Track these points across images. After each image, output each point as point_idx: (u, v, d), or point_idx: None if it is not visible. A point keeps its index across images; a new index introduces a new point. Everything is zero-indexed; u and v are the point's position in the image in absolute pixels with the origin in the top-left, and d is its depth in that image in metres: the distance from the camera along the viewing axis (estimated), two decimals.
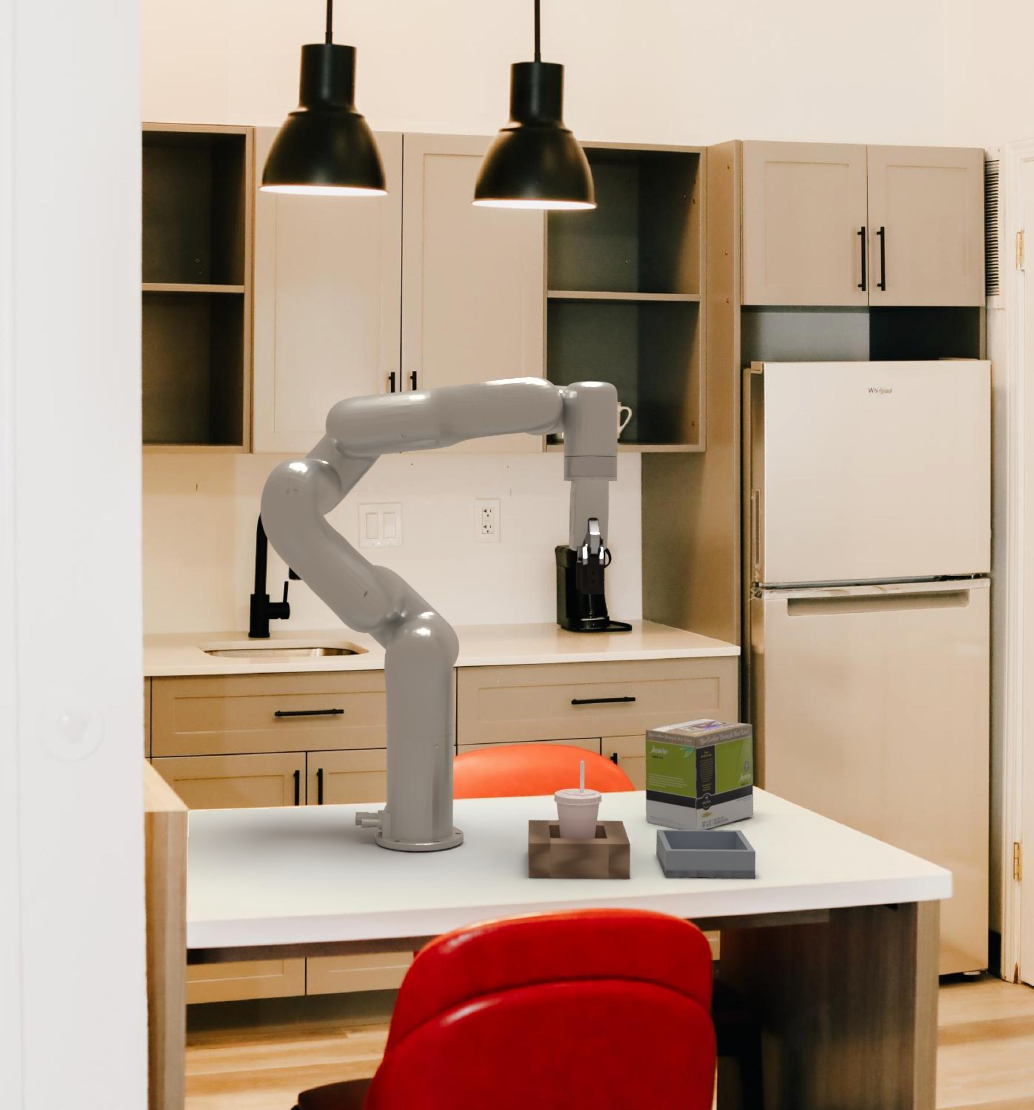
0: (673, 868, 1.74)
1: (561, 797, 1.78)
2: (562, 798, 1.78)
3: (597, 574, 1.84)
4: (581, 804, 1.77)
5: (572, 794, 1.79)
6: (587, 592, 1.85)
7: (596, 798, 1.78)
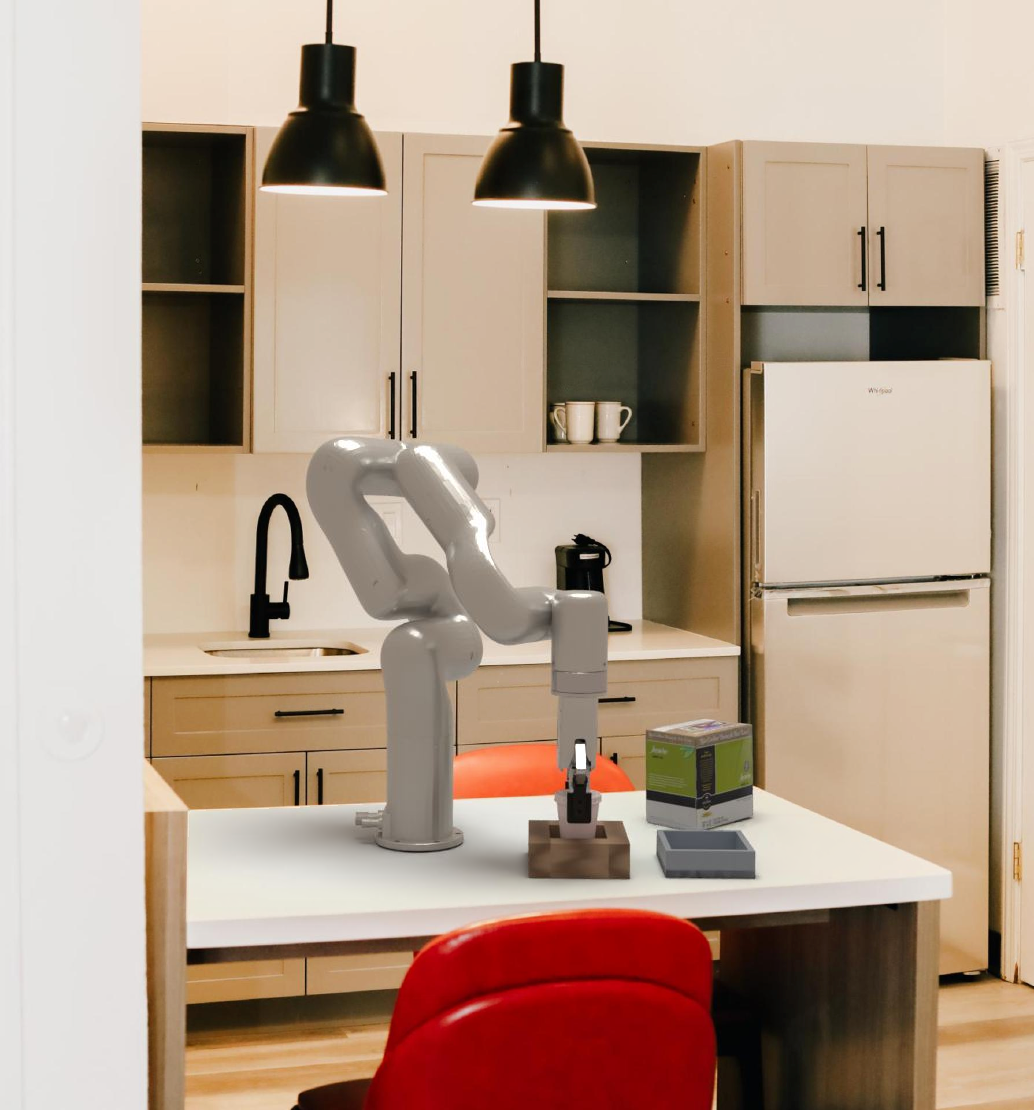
0: (673, 868, 1.74)
1: (561, 797, 1.78)
2: (562, 798, 1.78)
3: (583, 803, 1.75)
4: None
5: None
6: (573, 821, 1.76)
7: (596, 798, 1.78)
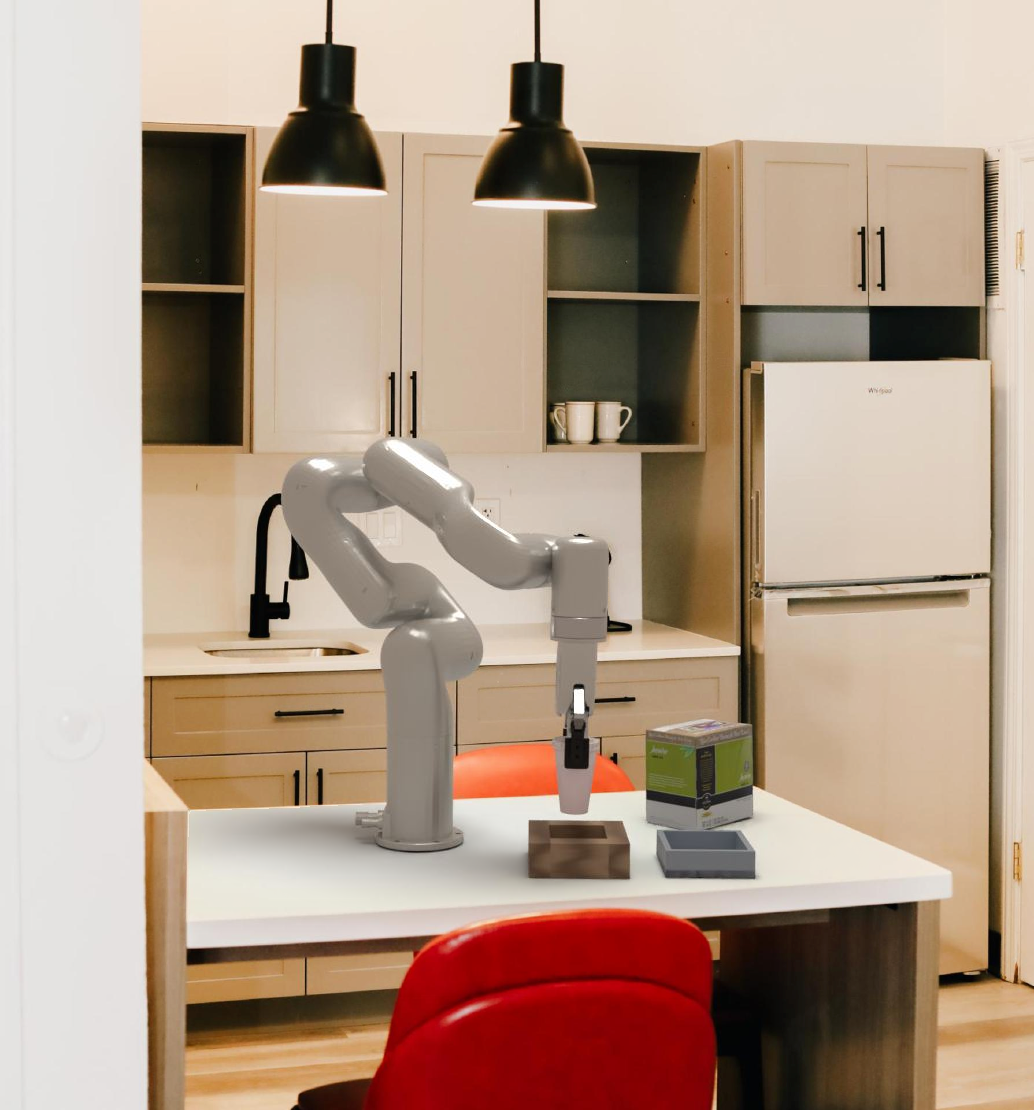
0: (673, 868, 1.74)
1: (559, 743, 1.78)
2: (560, 744, 1.78)
3: (581, 749, 1.75)
4: None
5: None
6: (570, 767, 1.76)
7: (594, 744, 1.78)
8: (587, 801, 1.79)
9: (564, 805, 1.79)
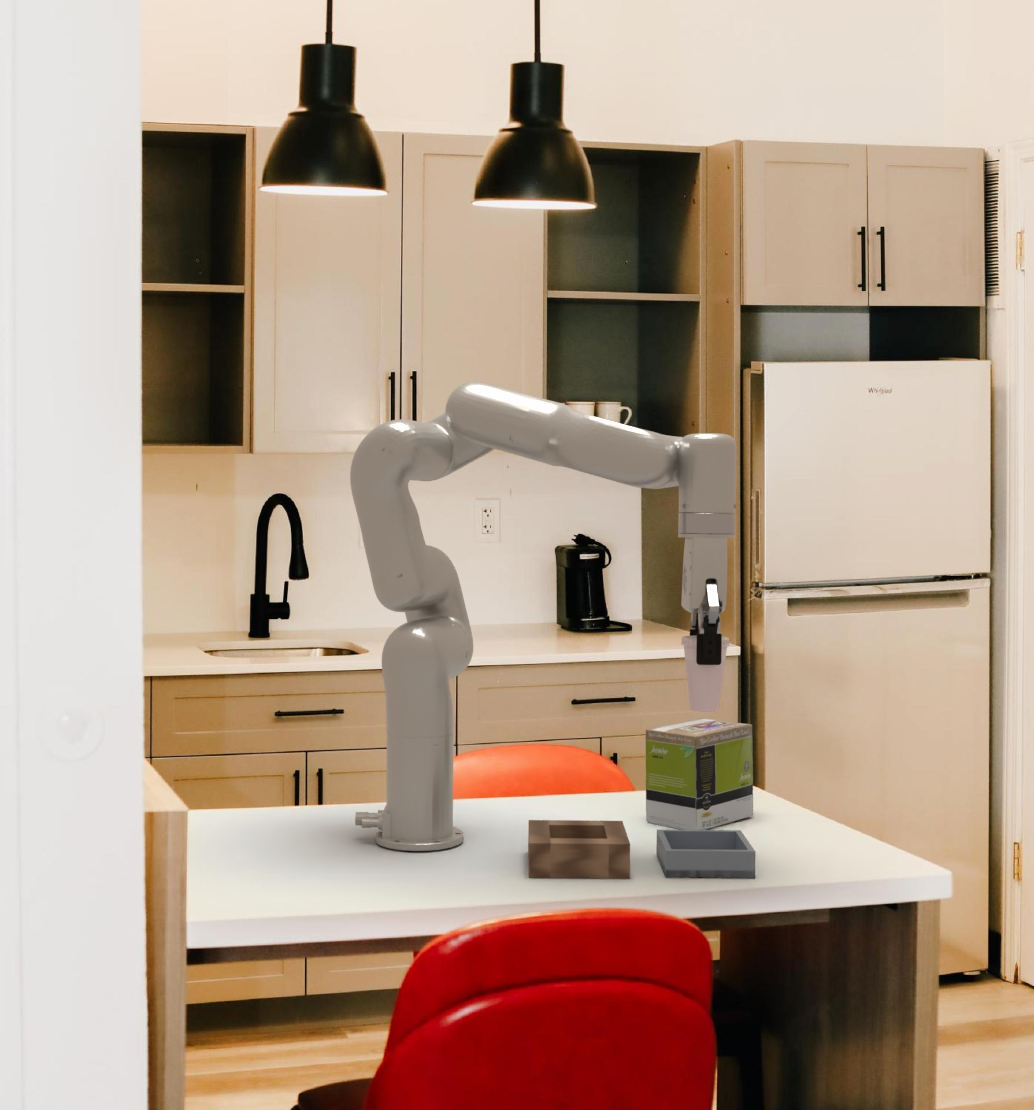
0: (673, 868, 1.74)
1: (690, 639, 1.77)
2: (691, 640, 1.77)
3: (714, 644, 1.75)
4: None
5: None
6: (703, 663, 1.75)
7: (725, 641, 1.77)
8: (718, 698, 1.78)
9: (695, 703, 1.78)
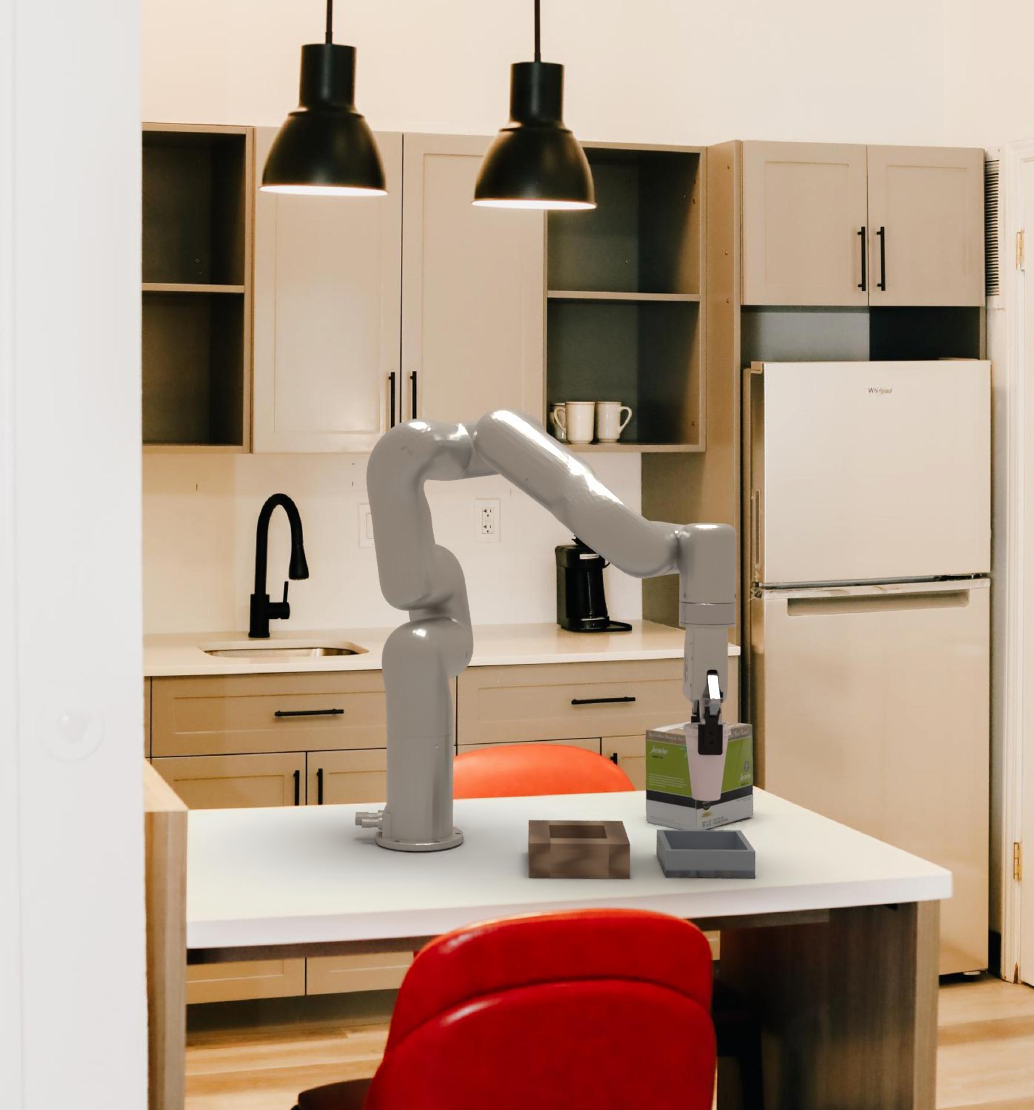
0: (673, 868, 1.74)
1: (691, 729, 1.77)
2: (692, 730, 1.77)
3: (715, 735, 1.75)
4: None
5: None
6: (704, 753, 1.76)
7: (726, 730, 1.78)
8: (720, 787, 1.79)
9: (697, 791, 1.78)
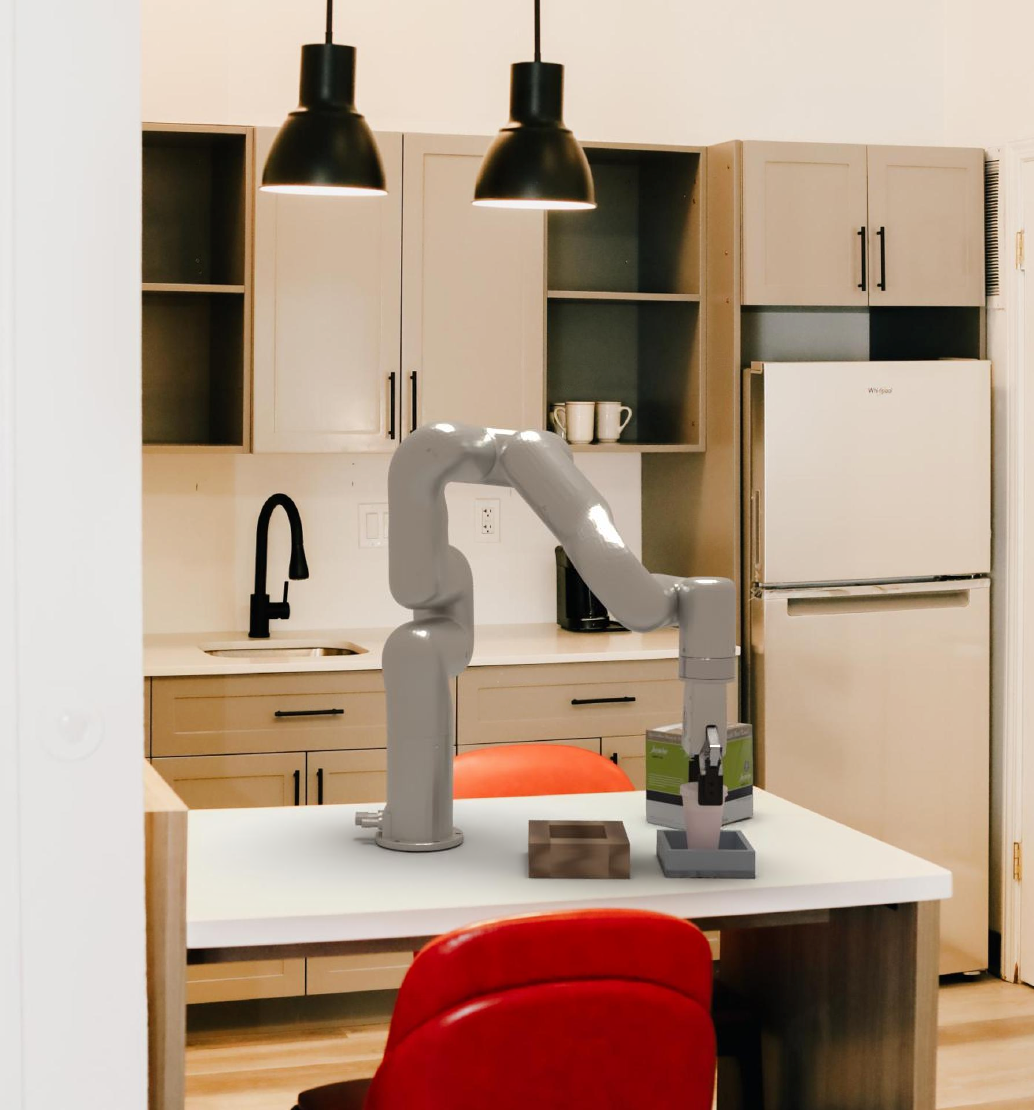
0: (673, 868, 1.74)
1: (688, 790, 1.78)
2: (689, 791, 1.78)
3: (716, 785, 1.74)
4: None
5: None
6: (704, 803, 1.75)
7: (723, 791, 1.78)
8: (716, 848, 1.79)
9: None
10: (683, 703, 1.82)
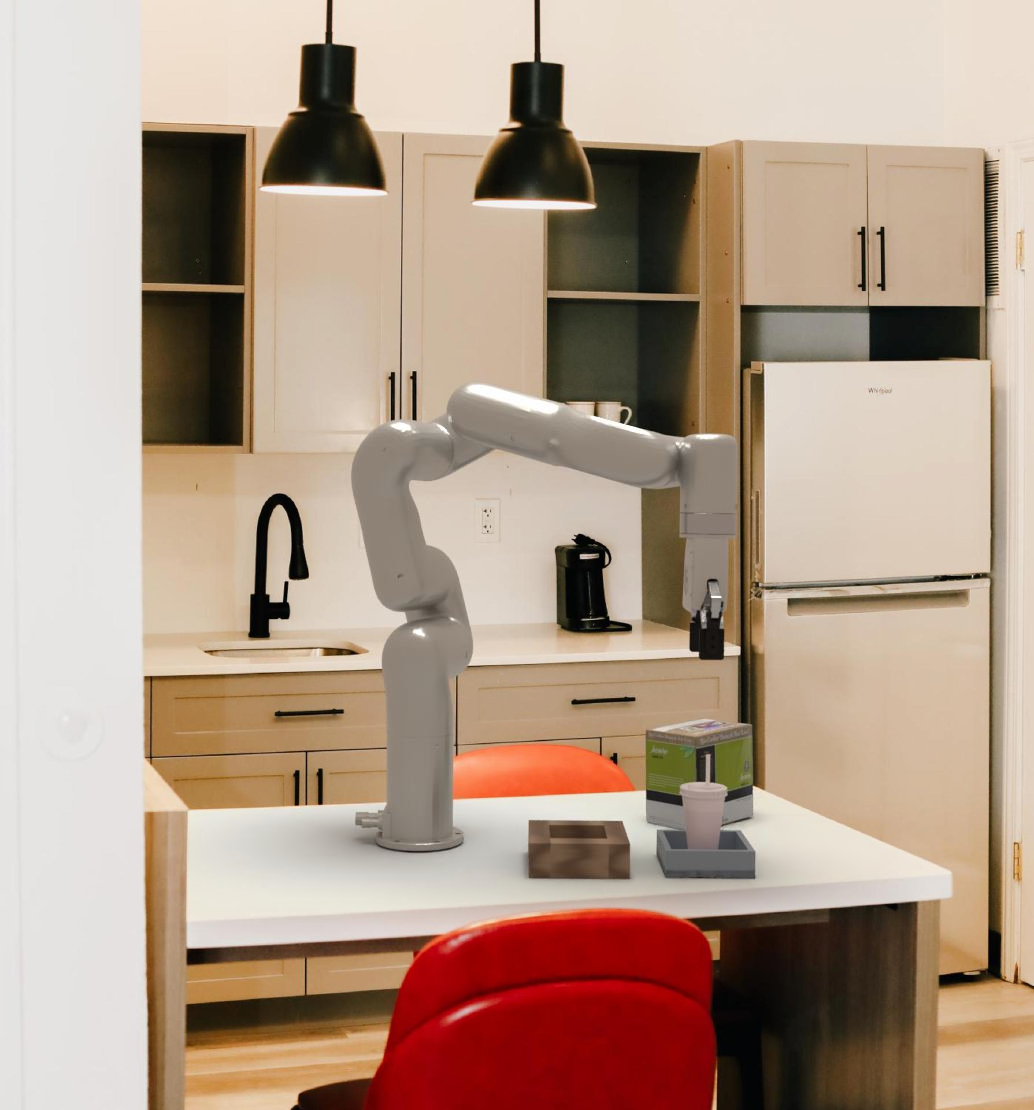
0: (673, 868, 1.74)
1: (688, 790, 1.78)
2: (689, 791, 1.78)
3: (717, 639, 1.73)
4: (708, 797, 1.77)
5: (698, 787, 1.79)
6: (706, 658, 1.74)
7: (723, 791, 1.78)
8: (716, 848, 1.79)
9: None
10: (684, 563, 1.81)
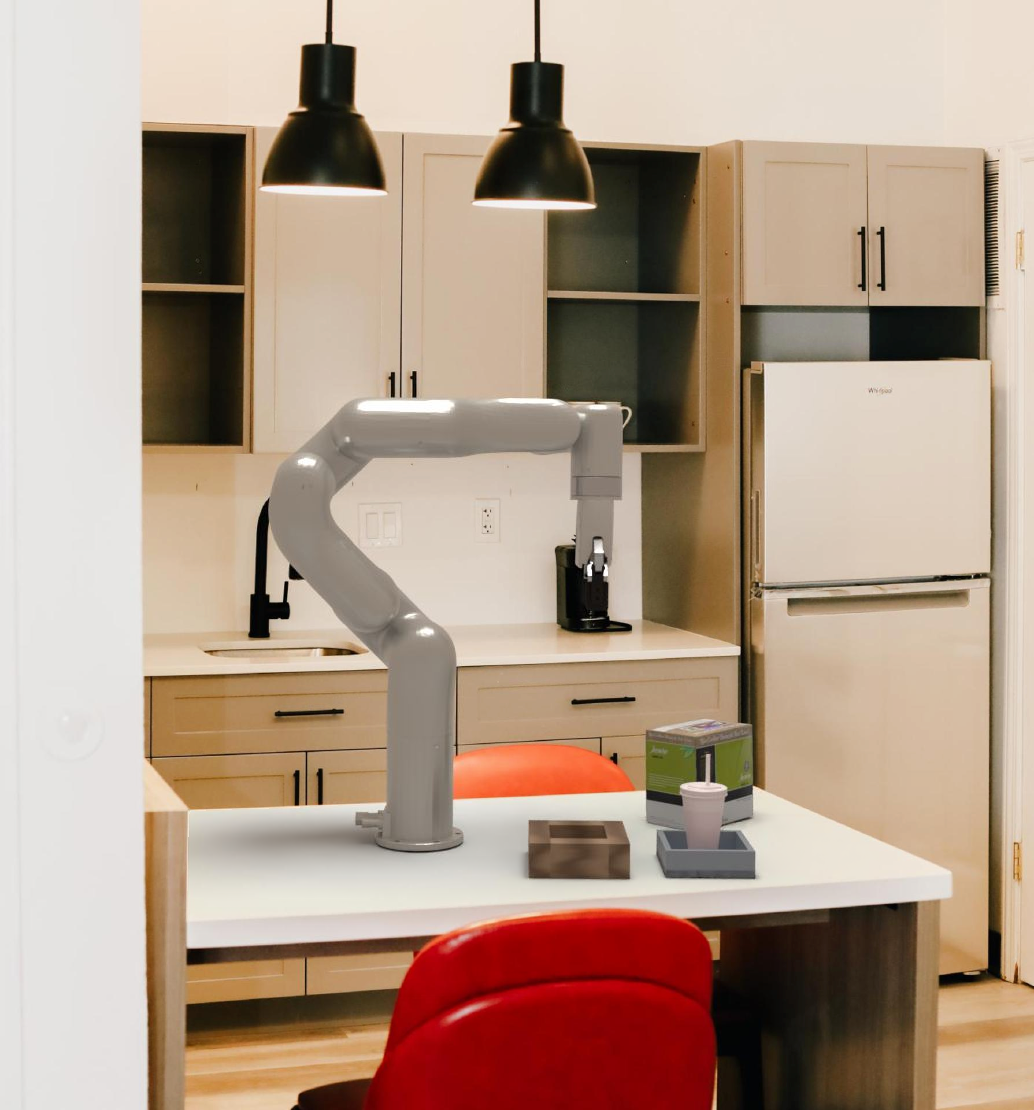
0: (673, 868, 1.74)
1: (688, 790, 1.78)
2: (689, 791, 1.78)
3: (601, 591, 1.90)
4: (708, 797, 1.77)
5: (698, 787, 1.79)
6: (591, 608, 1.91)
7: (723, 791, 1.78)
8: (716, 848, 1.79)
9: None
10: None
